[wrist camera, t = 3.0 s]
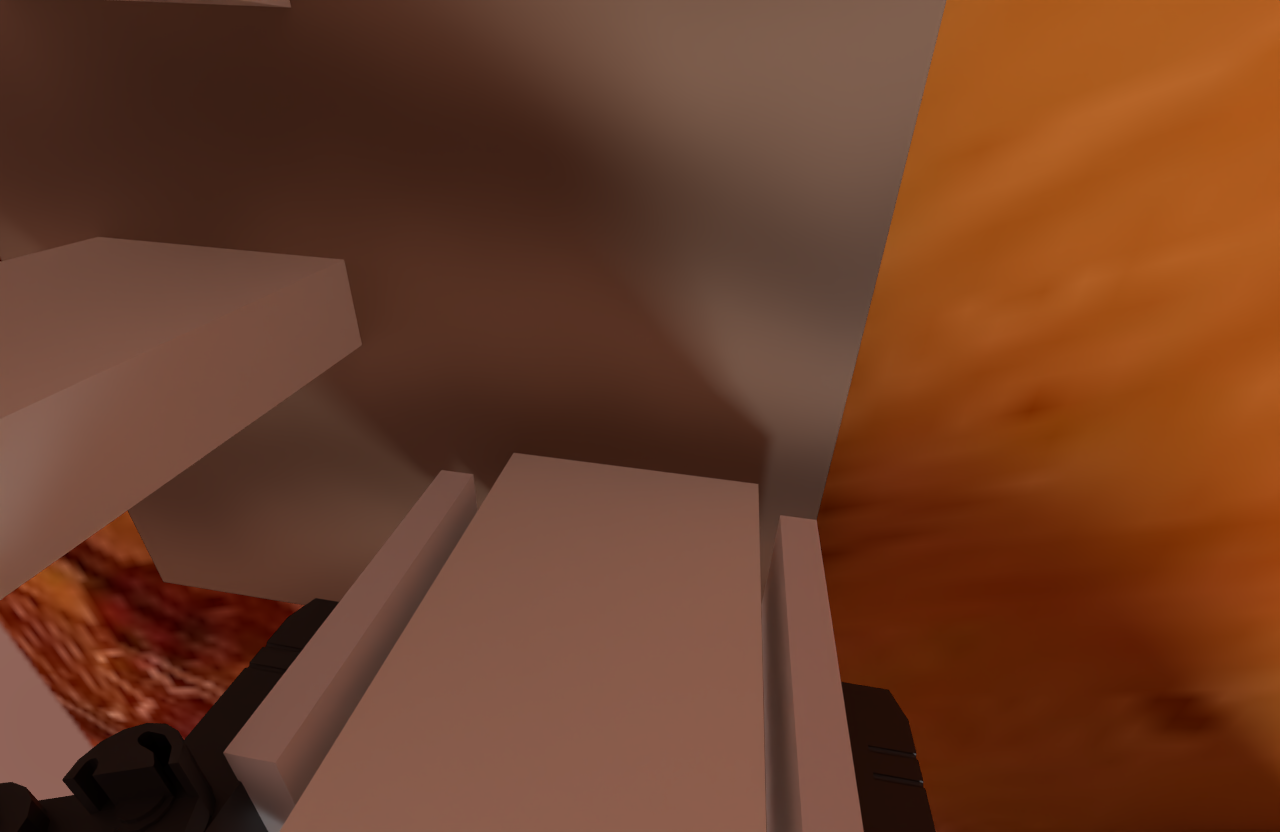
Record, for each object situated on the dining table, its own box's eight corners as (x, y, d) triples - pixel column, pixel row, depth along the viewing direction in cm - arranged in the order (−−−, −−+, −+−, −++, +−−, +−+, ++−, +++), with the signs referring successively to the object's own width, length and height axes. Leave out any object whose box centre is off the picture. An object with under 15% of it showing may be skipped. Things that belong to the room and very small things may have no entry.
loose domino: (747, 547, 15) (743, 1340, 6) (518, 515, 16) (175, 1175, 6) (758, 483, 14) (777, 1320, 5) (513, 452, 15) (96, 1127, 5)
